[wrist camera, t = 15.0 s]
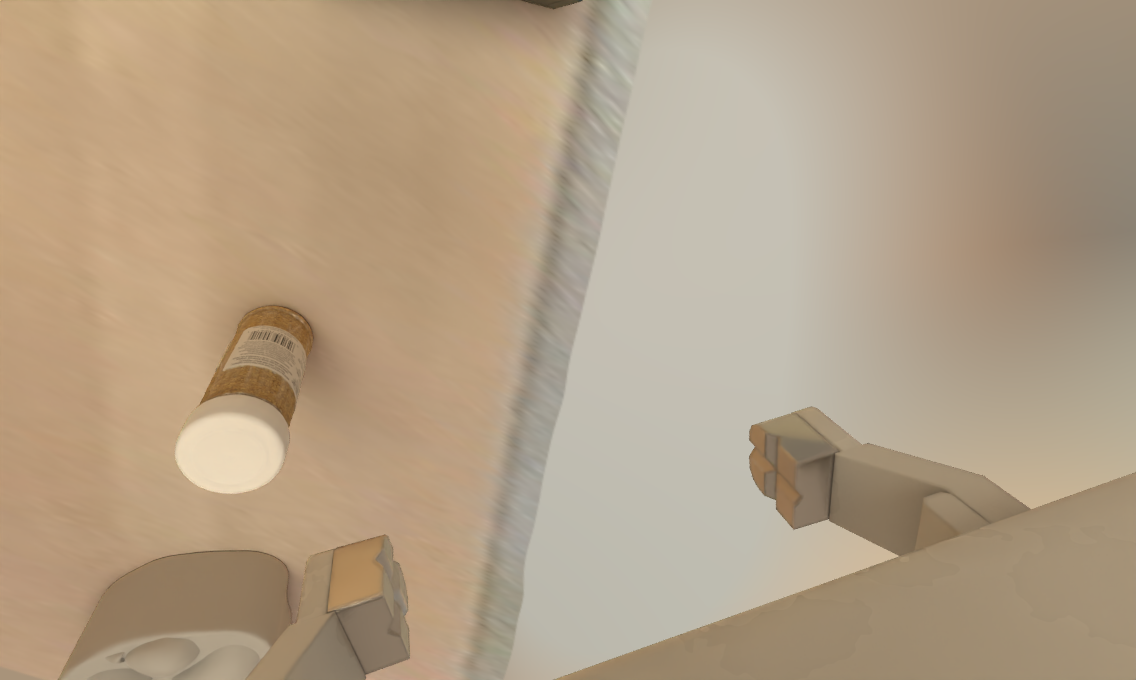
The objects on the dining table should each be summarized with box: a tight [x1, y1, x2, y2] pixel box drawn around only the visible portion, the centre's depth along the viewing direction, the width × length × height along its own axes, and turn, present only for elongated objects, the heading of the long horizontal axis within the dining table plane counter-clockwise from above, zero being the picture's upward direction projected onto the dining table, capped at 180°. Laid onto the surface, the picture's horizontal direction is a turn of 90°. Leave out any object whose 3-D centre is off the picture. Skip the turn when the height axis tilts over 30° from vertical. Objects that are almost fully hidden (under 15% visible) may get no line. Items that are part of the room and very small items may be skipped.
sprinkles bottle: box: [175, 306, 313, 494], centre depth 33 cm, size 5×5×14 cm
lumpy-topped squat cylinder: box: [58, 551, 291, 680], centre depth 42 cm, size 10×13×9 cm
